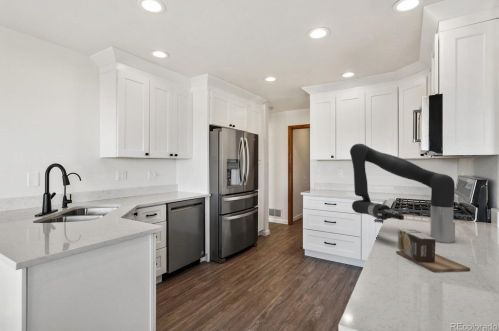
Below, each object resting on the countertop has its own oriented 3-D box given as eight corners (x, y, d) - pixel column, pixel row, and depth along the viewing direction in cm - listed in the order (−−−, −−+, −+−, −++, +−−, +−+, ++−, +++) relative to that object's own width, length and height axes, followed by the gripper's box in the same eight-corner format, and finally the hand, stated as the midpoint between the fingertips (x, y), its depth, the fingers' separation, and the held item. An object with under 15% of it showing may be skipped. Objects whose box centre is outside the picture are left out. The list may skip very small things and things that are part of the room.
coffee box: (397, 228, 114) (417, 237, 98) (413, 228, 114) (435, 238, 98) (397, 249, 114) (417, 262, 98) (413, 249, 114) (435, 263, 98)
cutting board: (426, 252, 113) (426, 250, 113) (470, 271, 93) (470, 268, 93) (396, 253, 111) (396, 251, 111) (434, 272, 92) (434, 269, 92)
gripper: (367, 203, 134) (388, 209, 117) (391, 203, 136) (415, 209, 119) (366, 218, 134) (388, 226, 117) (390, 218, 136) (415, 225, 119)
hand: (402, 217), depth 118 cm, fingers closed
